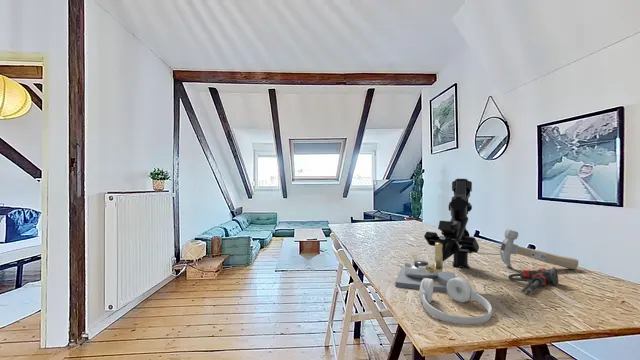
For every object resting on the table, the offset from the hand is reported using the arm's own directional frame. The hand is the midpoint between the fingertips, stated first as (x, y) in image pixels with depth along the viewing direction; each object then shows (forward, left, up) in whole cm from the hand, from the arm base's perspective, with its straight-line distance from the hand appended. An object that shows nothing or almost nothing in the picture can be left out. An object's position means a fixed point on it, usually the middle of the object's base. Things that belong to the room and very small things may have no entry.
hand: (442, 260), depth 116 cm
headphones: (+22, +3, -9) cm, 24 cm away
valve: (-12, +29, -9) cm, 33 cm away
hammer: (-38, +39, -9) cm, 55 cm away
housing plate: (-2, -6, -9) cm, 11 cm away
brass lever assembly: (-3, -6, -7) cm, 10 cm away
